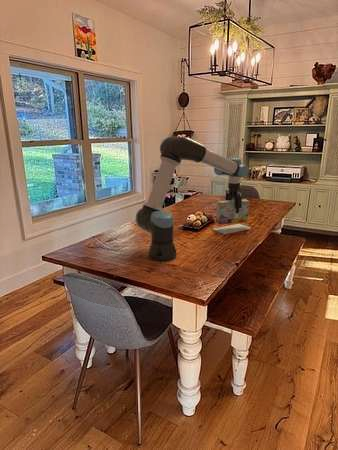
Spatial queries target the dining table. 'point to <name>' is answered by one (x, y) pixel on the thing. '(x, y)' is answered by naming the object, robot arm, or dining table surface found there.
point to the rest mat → (231, 229)
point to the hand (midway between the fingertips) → (232, 216)
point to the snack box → (231, 212)
